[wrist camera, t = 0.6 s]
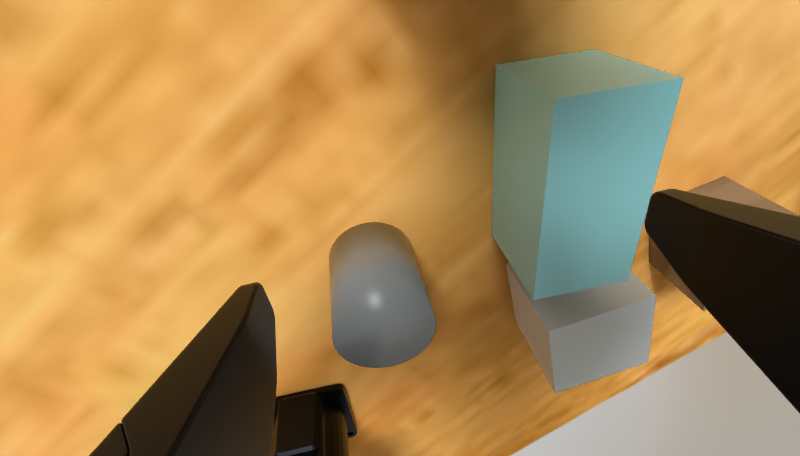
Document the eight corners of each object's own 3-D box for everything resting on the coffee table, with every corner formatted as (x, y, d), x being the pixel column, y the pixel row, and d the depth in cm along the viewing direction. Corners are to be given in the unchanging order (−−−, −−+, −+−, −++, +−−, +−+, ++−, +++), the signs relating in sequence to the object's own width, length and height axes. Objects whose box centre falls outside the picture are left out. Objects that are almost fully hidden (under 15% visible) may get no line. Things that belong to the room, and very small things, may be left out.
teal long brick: (567, 218, 26) (627, 280, 21) (490, 233, 25) (533, 300, 20) (592, 48, 20) (684, 77, 15) (494, 63, 20) (555, 99, 15)
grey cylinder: (415, 280, 26) (438, 355, 21) (337, 296, 26) (343, 376, 21) (408, 215, 23) (433, 284, 18) (320, 231, 23) (322, 306, 18)
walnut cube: (716, 233, 29) (784, 279, 24) (648, 261, 29) (703, 311, 25) (723, 175, 26) (800, 216, 22) (647, 206, 26) (709, 252, 22)
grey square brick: (593, 295, 30) (648, 362, 25) (515, 321, 30) (555, 393, 25) (592, 233, 27) (656, 295, 22) (505, 262, 27) (548, 331, 22)
